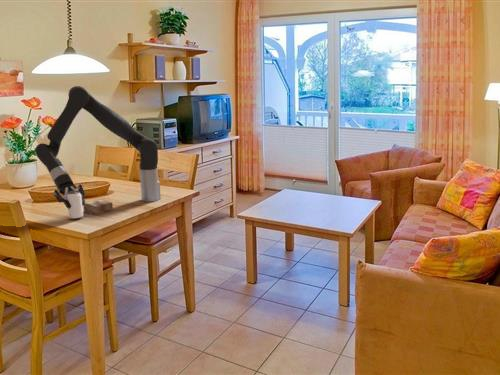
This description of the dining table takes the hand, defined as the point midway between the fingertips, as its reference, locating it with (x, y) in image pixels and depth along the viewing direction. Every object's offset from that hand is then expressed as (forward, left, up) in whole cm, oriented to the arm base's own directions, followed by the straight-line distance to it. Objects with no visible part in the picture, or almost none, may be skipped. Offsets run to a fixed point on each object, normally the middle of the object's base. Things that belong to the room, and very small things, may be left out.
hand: (76, 205), depth 225 cm
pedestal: (-14, -5, -6) cm, 16 cm away
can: (0, -2, -6) cm, 6 cm away
